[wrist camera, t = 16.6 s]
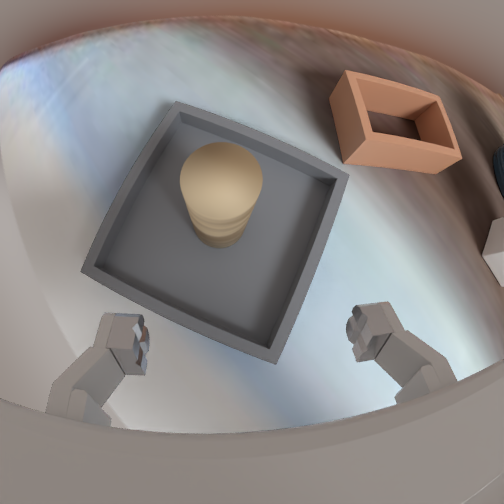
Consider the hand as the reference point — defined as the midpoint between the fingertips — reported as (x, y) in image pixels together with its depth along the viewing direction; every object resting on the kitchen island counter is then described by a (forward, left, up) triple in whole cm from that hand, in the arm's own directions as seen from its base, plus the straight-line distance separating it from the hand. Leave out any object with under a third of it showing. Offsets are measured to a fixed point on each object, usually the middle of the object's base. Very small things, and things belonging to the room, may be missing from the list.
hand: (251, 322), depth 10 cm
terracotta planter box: (+25, -9, -15) cm, 30 cm away
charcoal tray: (+6, +4, -15) cm, 16 cm away
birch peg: (+6, +4, -14) cm, 16 cm away
